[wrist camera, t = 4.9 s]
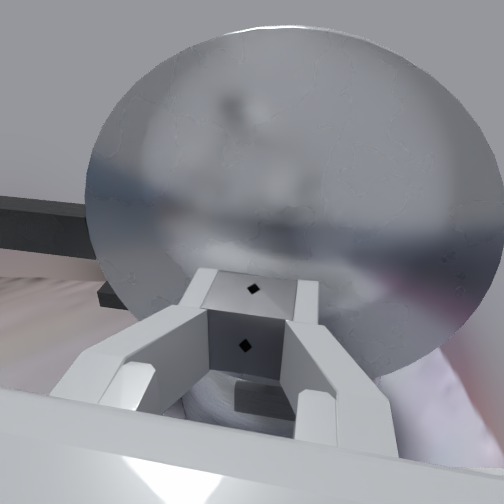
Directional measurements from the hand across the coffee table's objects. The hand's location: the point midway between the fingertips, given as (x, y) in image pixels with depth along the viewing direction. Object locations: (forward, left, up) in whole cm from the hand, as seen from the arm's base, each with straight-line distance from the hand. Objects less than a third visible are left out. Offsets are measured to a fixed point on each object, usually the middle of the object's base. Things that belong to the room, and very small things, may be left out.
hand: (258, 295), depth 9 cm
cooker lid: (+4, +7, -3) cm, 9 cm away
